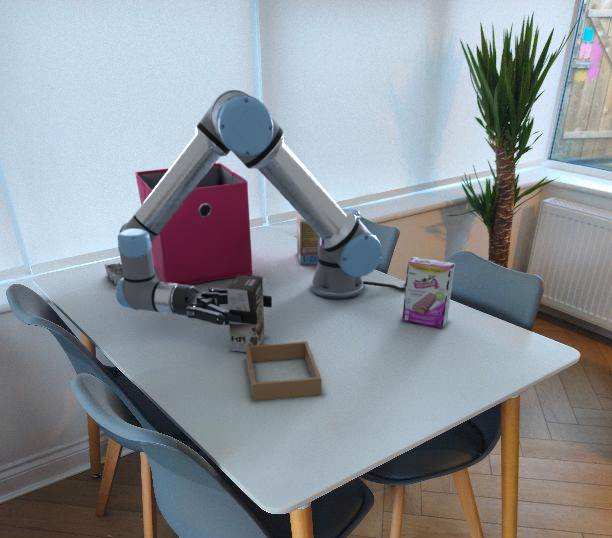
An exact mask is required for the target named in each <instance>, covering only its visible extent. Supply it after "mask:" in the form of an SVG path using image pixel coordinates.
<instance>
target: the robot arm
mask: <svg viewBox="0 0 612 538" xmlns="http://www.w3.org/2000/svg"><path fill="white" fill-rule="evenodd" d="M284 133H285V131H284V130H283V128H282V127H281V126H280V125H279V124H278V122H276V120H275V119H274V118H273V117H272V115H271V113H270V112H269V109H268V108H267V106H266V105H265V104H264V103H263V102H262V101H261V100H259V99H258V98H256V97H254V96H252V95H249V94H248V93H247V92H244V91H242V90H237V89H231V90H230V89H229V90H226V91H224V92H222V93H220V95H218V96H217V97H216V98H215V99H214V101H213V102H212V104H211V105H210V106H209V108H208V109H207V110H206V112H205V114H204V115H203V116H202V118H201V120H200V121H198V123H197V125H196V126H195V135H194V136H193V137H192V138H191V140H190V141H189V143H188V144H187V145H186V146H185V148H184V149H183V151H182V152H181V153H180V154H179V156H178V157H177V158H176V159H175V161H174V162H173V164H172V165H171V166H170V167H169V168H170V169H169V170H168V171H167V173H166V174H165V175H164V177H163V178H162V179H161V180H160V182H159V183H158V184H157V186H156V187H155V188H154V190H153V191H152V192H151V193H150V195H149V196H148V197H147V199H146V200H145V201H144V203H143V204H142V205H141V204H140V206H139V207H138V209H137V210H136V212H135V213H134V214H133V215H132V217H130V219H129V220H127V221H126V222H124V223H123V224H122V225H121V227H120V230H119V233H118V234H117V249H118V252H119V257H120V261H121V263H120V264H122V269H123V274H124V278H122V279H120V280H119V282H118V283H117V284H116V286H115V289H116V291H115V298H116V301H117V302H118V304H119V305H120V306H121V307H123V308H127V309H131V310H135V311H148V312H155V313H156V312H157V313H163V314H167V315H177V316H185V317H187V319H194V320H195V319H196V320H199V321H203V322H206V323H211V324H214V325H218V326H229V321H232V322H239V323H247V324H254V325H257V324H258V322H257V313H255V312H247V311H240V310H232V309H231V310H230V313H229V312H228V309H227V310H226V309H225V308H222V307H220V306H223V305H228V296H227V288H228V287H227V288H223V287H222V288H221V287H213V286H210V287H208V291H198V290H197V288H196V287H195V285H193V284H188V285H185V284H177V283H169V282H163V281H159V280H156V279H157V277H156V273H155V266H154V263H153V255H152V245H151V244H152V242H153V241H154V240H155V239H156V237H157V236H158V235H159V233H160V232H161V231H162V229H163V228H164V227H165V226H166V224H167V223H168V222H169V221H170V219H171V218H172V217H173V215H174V214H175V213H176V212H177V210H178V209H179V208H180V207H181V205H182V204H183V203H184V202H185V200H186V199H187V198H188V197H189V195H190V194H191V193H192V192H193V190H194V189H195V188H196V187H197V185H198V184H199V183H200V182H201V180H202V179H203V178H204V176H205V175H206V174H207V173H208V171H209V170H210V169H211V168H212V166H213V165H214V164H215V163H217V162H218V161H219V159H220V158H221V157H226V156H228V154H229V153H230V152H232V153H233V154H234V155H235V156H236V158H237V159H239V161H240V162H241V163H242V164H243V165H244V166H245V167H246V168H247V169H255V170H258V172H260V174H262V175H263V177H264V178H265V179H266V180H267V181H268V182H269V183H270V185H271V186H272V187H274V188H275V189H276V191H277V192H278V193H279V194H280V195H281V196H282V197H283V198H284V199H285V200H286V202H288V204H289V205H290V206H291V207H292V208H293V209H294V210H295V211H296V213H297V212H298V213H299V214H300V215H301V216H302V217H303V219H304V220H305V221H306V222H307V223H308V224H309V225H310V226H311V227H312V228H313V229H314V230H315V231H316V233H317V234H318V264H316V265H317V266H316V269H315V272H314V275H313V278H312V281H311V291H312V292H313V294H316V295H317V296H320V297H323V298H326V299H336V300H339V299H340V300H341V299H344V300H345V299H350V298H351V299H352V298H355V297H357V296H359V295H361V294H362V293H363V292H364V285H366V286H375V287H382V288H389V289H395V290H397V291H399V292H400V291H401V292H403V291H404V292H405V288H406V282H405V283H404V286H403V287H400V286H399V285H396V284H395V285H394V284H389V283H383V282H374V281H366V280H363V277H365V276H367V275H369V274H371V273H373V271H374V270H376V268H377V267H378V266H379V264H380V263H381V260H382V256H383V247H382V243H381V242H380V240H379V238H378V237H377V236H376V235H375V234H373V233H372V232H371V231H370V230H369V229H368V228H367V227H366V225H364V223H363V222H362V216H361V212H360V211H359V210H357V209H353V208H342V207H341V206H340V205H339V203H337V202H336V200H335V199H334V198H333V197H332V195H331V194H329V192H328V190H326V189H325V188H324V186H323V185H322V184H321V183H320V182H319V180H318V179H317V178H316V177H315V176H314V175H313V173H312V172H311V171H310V170H309V169H308V168H307V167H306V166H305V165H304V163H303V162H302V161H301V160H300V159H299V157H297V155H296V154H295V153H294V152H293V150H292V149H291V148H290V147H289V146H288V145H287V144H286V143H285V140H284V138H285V137H284V136H285V134H284ZM272 300H273V299H272V295H266V294H265V295H264V294H263V307H264V308H272V306H273V304H272Z"/></svg>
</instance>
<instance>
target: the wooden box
mask: <svg viewBox="0 0 612 538" xmlns="http://www.w3.org/2000/svg"><path fill="white" fill-rule="evenodd" d="M245 347H246V352H245V360H246V361H245V362H246V366H247V372H248V378H249V384H250V390H251V395H252V400H253V402H256V401H269V400H279V399H288V398H289V399H290V398H299V397H301V398H302V397H310V396H311V397H312V396H319V395H320V396H321V395H322V376H321V373H320V370H319V368H318V365H317V363H316V360H315V358H314V355H313V352H312V350H311V347H310V343H309V342H308V340H304V341H303V340H302V341H292V342H280V343H266V344H260V345H253V346H245ZM295 359H305V363H306V365H307V369H308V371H309V374H310V377H304V378H292V379H281V380H269V381H259V382H256V375H255V369H254V365H253V363H257V362H258V363H259V362H270V361H271V362H272V361H282V360H295Z"/></svg>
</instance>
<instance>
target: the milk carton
mask: <svg viewBox="0 0 612 538" xmlns="http://www.w3.org/2000/svg"><path fill="white" fill-rule="evenodd" d="M296 252H297V253H296V254H297V258H298V261H299V265H300V266H308V265H311V266H312V265H318V234H317V233H316V231H315V230H314V229H313V228H312V227H311V226H310V225H309V224H308V223H307V222H306V221H305V220H304V219H303V217H302V216H301V215H300V214H299V213H298V212H297V211H296Z"/></svg>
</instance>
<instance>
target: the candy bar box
mask: <svg viewBox="0 0 612 538" xmlns="http://www.w3.org/2000/svg"><path fill="white" fill-rule="evenodd" d="M455 269H456V263H455V262H448V261H443V260H442V261H441V260H437V259H430V258H424V257H416V256H412V258H410V260H409V261H408V262H407V269H406V279H405V283H406V288H405V290H404V300H403V307H402V317H401V319H402V322H405V323H412V324H418V325H422V326H427V327H432V328H437V329H443V328H444V326H445V325H446V324H447V322H448V318H449V310H450V304H451V297H452V289H453V284H454V275H455V271H456V270H455Z"/></svg>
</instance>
